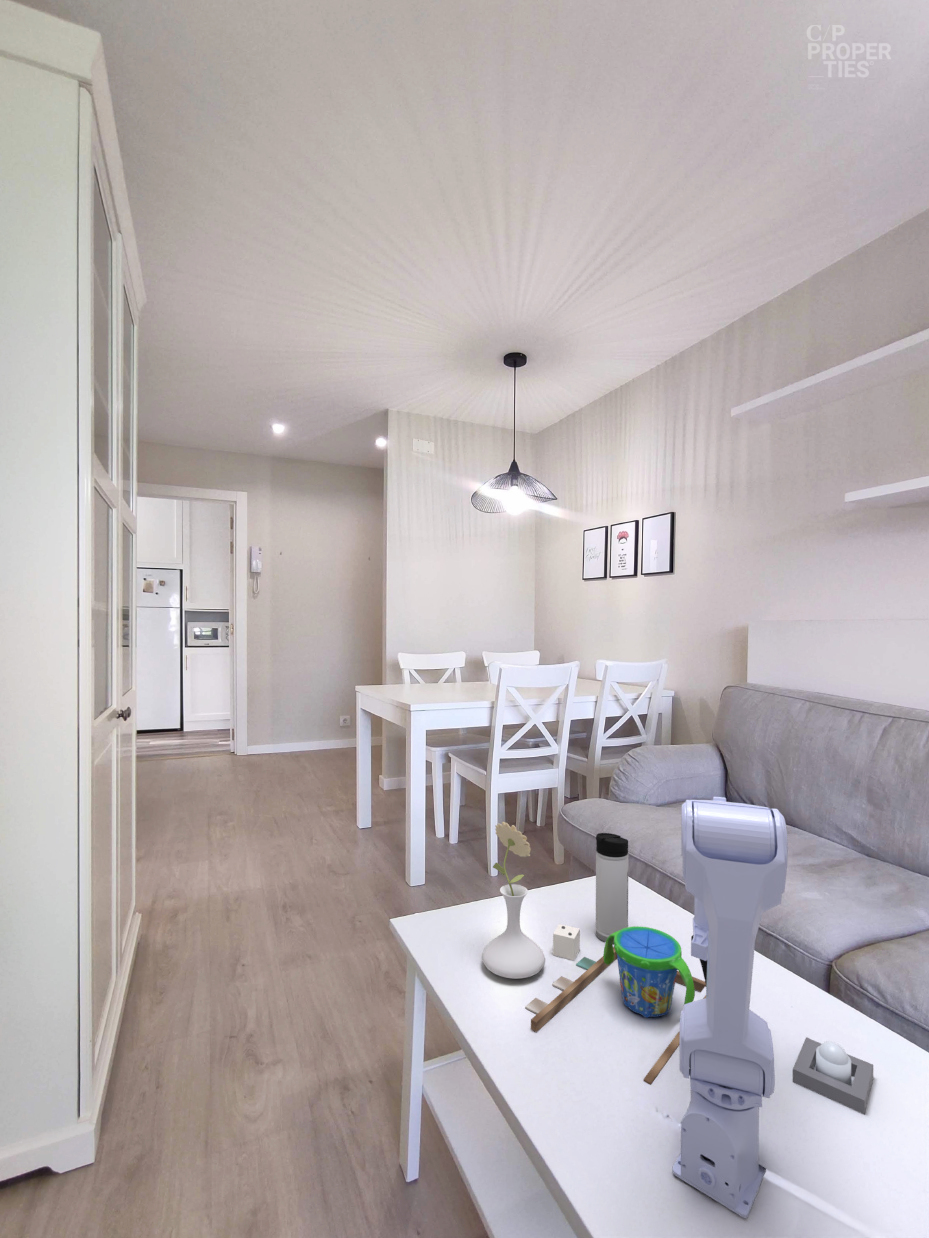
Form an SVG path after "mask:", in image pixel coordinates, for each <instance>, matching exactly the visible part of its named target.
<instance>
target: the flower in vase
mask: <svg viewBox="0 0 929 1238" xmlns="http://www.w3.org/2000/svg"><path fill="white" fill-rule="evenodd" d="M494 829H495V834H496V836H497V837H498V839H499V841H500V842H501V843H502V845H503V846H504V847H506V851H505V856H504V859H503V866H502V865H501V864H499V863H498V862H495V863H494V864H493V866H492V868H493V869H495V870H497V871H498V872H499V873H501V875H502V876H505V877H506V880H507V882H508V884H505V885H502V886H501V887H500V888H499V893H500V894H501V895H502V896H503V899H504V901H505V905H506V913H507V915H506V916H507V919H506V920H507V921H506V928H505V930H504V931H503V932H502V933H501V934H499V935H497V936H496V937H495V938H492V939H491V941H489V942H488V943H487V944H486V945H485V946H484V948H483V951H482V953H481V960H482V962H483V965H484V966H485V967H486V969H487V970H488V971H490V972H492V973H493V974H494V975H497V976H499V977H502V978H507V979H517V980H518V979H527V978H530V977H532V976H535V975H537V974H539V973H540V972H541V970H542V969H543V967H545V964H546V957H545V953H544V951H543V949H542V948H541V946H539V945H538V943H536V941H534V940H533V939H531V938H530V937H529V936H527V934H525V933H524V932H523V931H522V929H521V921H520V920H521V908H522V903H523V901H524V898H525V897H526V896H527V894H528V892H529V890H528V888H527V887H525V886H523V885H521V884H516V883H517V882H519V881H521V880H522V879H523V878H524V876H525V874H518V875H516V876H514V877H513V878H512V879H511V880H510V878H509V876H508V873H507V869H506V863H507V862H506V861H507V857H508V853H509V851H510V852H512V853H513V854H514V855H517V856H518V857H521V858H527V857H531V851H532V848H531V844H530V843H529V842H528V841H527V840H528V837H527V836H526V835H524V834H523V832H521V831H519V830H518V829H517V827H516V826H515V825H511V826H510V824H508V822H505V821H501V823H497V824H495V828H494Z"/></svg>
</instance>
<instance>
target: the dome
mask: <svg viewBox="0 0 929 1238" xmlns="http://www.w3.org/2000/svg"><path fill="white" fill-rule="evenodd" d="M847 1054H848V1053H847V1052H846V1050H845V1049H844V1048H843V1047H842V1046H841V1045H840V1044H839V1043H837V1042H835V1041H832V1040H826V1041H824V1042H822V1043H821V1045H820V1046H818V1047H817V1048H816V1064H815V1071H817V1072H819V1073H822V1074H824V1075H826V1076H829V1077H831V1078H833V1079H836V1080H838V1081H840V1082H842V1083H845V1084H847V1085H849V1086H852V1076H851V1059H850V1058H849V1056H848V1055H849V1054H848V1055H847Z"/></svg>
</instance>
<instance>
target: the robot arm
mask: <svg viewBox="0 0 929 1238" xmlns="http://www.w3.org/2000/svg"><path fill="white" fill-rule="evenodd" d="M680 817H681V818H680V819H681V820H680V821H681V822H680V824H681V827H680V828H681V829H680V831H681V832H680V835H681V836H680V837H681V838H680V840H681V843H680V844H681V845H680V846H681V848H680V849H681V850H680V851H681V852H680V853H681V855H680V856H681V857H682V879H683V880H684V884H685V885H684V886H685V887H684V888H685V890H686V891H687V892H688V893H689V894H690V895H692V896H693V897H694V898H693V899H694V903H693V905H694V907H693V908H694V915H693V918H692V933H693V934H692V935H691V938H690V939H691V941H690V956H691V957H694V958H696V959H699V963H700V967H701V970H702V974H703V979H704V981H705V983H706V987H705V995H706V998H704V997H703V998H704V999H703V998H702V999H698V1000H695V1001H694V1000H693V1002H690V1003H687V1004H685V1005H684V1004H683V1005H684V1006H682V1007H683V1009H682V1010H681V1011H680V1017H679V1031H680V1042H679V1046H678V1047H679V1054H678V1055H679V1058H678V1059H679V1062H678V1063H679V1064H678V1065H679V1072H680V1073H681V1074H682V1075H683V1077H684V1078H685V1079H689V1084H690V1085H689V1087H690V1101H689V1104H688V1107H687V1109H686V1112H685V1114H684V1115H683V1118H682V1120H681V1123H680V1124H681V1126H680V1152H679V1155H678V1156H677V1159H676V1161H675V1162H674V1164H673V1166H672V1169H671V1170H672V1171H671V1172H672V1174H673V1175H674V1176H675V1177H677V1178H678V1179H680V1180H682V1181H684V1182H685V1183H687V1184H688V1185H689V1186H691V1187H693V1188H695V1189H697V1190H698V1191H699V1192H701V1193H703V1195H706V1196H708V1197H709V1198H711V1199H712V1200H714V1201H715V1202H717V1203H718V1204H721V1205H723V1206H724V1207H725V1208H727V1209H729V1210H730V1211H731V1212H733V1213H735V1214H737V1215H739V1216H740V1217H742V1218H743V1219H745V1218H748V1217H749V1215H750V1212H751V1210H752V1206H753V1205H754V1201H755V1199H756V1197H757V1194H758V1192H759V1189H760V1187H761V1184H762V1182H763V1180H764V1177H765V1175H766V1171H767V1167H765V1166H763V1165H762V1164H759V1161H760V1159H759V1157H760V1154H759V1153H760V1151H759V1149H760V1145H759V1144H760V1143H759V1142H760V1137H759V1136H760V1109H761V1108H762V1107H763V1098H765V1099H770V1097H771V1096H772V1095H773V1094H774V1092H775V1085H776V1083H775V1082H776V1079H775V1078H776V1077H775V1071H776V1070H775V1052H774V1045H773V1044H774V1043H773V1036H772V1031H771V1028H769V1025H768V1023H769V1022H767V1021H766V1020H765V1018H763V1017H761V1016H760V1015H758V1014H757V1013H756V1012H754V1011H753V1010H751V1009H750V1007H751V1006H750V1005H751V994H752V982H753V981H752V980H753V970H754V958H755V947H756V946H755V945H756V939H757V935H758V931H759V928H760V924H761V920H762V918H763V914H764V912H766V911H769V910H772V909H773V908H775V907H778V906H779V905H781V904H782V897H783V894H784V893H785V889H786V880H787V872H788V871H787V870H788V858H789V857H788V856H789V847H788V845H789V843H788V842H789V841H788V840H789V839H788V831H787V824H786V819H785V817H784V815H783V814H782V813H781V811H779V809H778V808H770V807H767V806H761V805H755V804H749V803H741V802H730V801H727V798H726V797H724V796H723V797H720V796H712V799H711V800H709V799H685V802H683V803H682V804H681V816H680Z"/></svg>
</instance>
